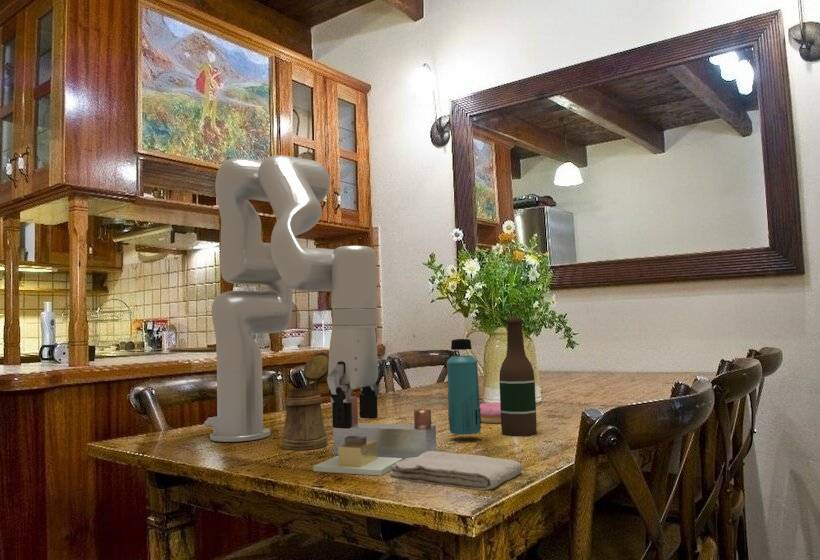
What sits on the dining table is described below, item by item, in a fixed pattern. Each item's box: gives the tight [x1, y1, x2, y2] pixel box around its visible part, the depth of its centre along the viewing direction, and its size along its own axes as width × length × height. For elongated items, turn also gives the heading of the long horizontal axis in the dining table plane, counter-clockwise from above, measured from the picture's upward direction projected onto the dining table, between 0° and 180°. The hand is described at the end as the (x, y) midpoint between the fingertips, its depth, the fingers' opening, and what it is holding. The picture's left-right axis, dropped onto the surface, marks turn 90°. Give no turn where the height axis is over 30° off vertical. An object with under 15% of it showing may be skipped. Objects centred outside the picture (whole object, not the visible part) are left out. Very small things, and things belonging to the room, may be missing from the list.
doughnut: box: [480, 401, 501, 424], centre depth 149 cm, size 11×11×4 cm
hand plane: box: [332, 396, 437, 459], centre depth 114 cm, size 18×5×10 cm, turn 68°
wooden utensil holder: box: [281, 351, 329, 451], centre depth 127 cm, size 9×14×18 cm, turn 162°
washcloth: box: [389, 450, 523, 491], centre depth 97 cm, size 12×18×3 cm, turn 57°
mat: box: [312, 455, 404, 476], centre depth 104 cm, size 12×9×1 cm
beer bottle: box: [499, 316, 538, 437], centre depth 132 cm, size 8×8×24 cm
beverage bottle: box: [446, 338, 482, 435], centre depth 127 cm, size 6×7×20 cm
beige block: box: [337, 436, 378, 467], centre depth 104 cm, size 4×6×4 cm, turn 159°
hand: (355, 422), depth 105 cm, fingers open, 9 cm apart
